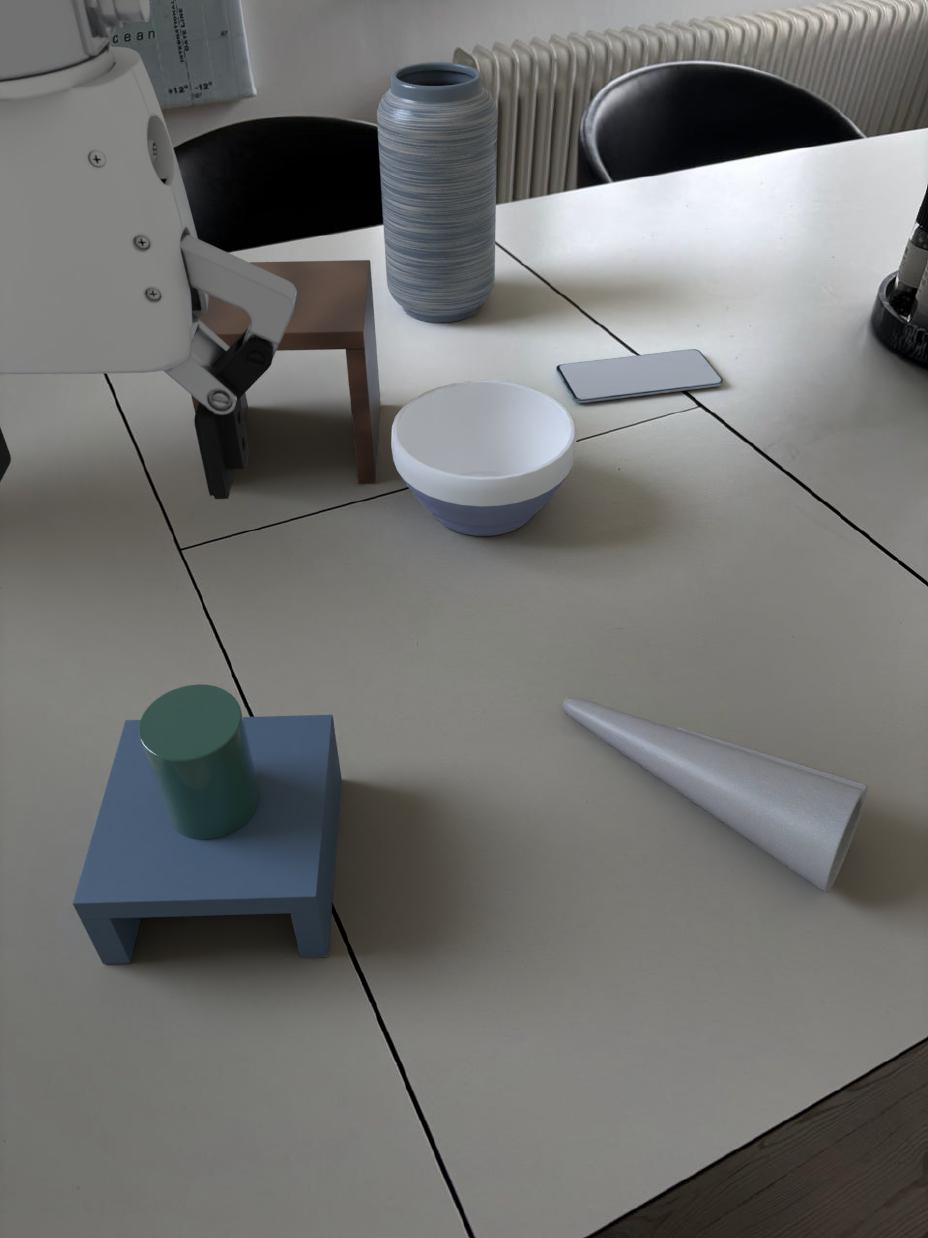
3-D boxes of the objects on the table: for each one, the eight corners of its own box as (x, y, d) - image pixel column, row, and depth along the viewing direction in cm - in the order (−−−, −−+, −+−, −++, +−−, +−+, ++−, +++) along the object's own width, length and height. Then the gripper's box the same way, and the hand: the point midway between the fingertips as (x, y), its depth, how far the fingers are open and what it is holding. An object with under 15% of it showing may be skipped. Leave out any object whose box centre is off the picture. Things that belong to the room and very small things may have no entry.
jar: (157, 841, 52) (128, 761, 48) (175, 765, 56) (149, 684, 51) (254, 839, 52) (234, 759, 48) (265, 763, 56) (247, 682, 51)
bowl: (374, 476, 86) (367, 398, 81) (530, 443, 90) (533, 366, 85) (427, 579, 76) (424, 497, 71) (600, 537, 80) (609, 457, 75)
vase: (408, 337, 105) (397, 98, 89) (374, 291, 113) (359, 64, 97) (510, 318, 108) (517, 83, 92) (471, 275, 116) (471, 52, 100)
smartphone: (554, 364, 99) (697, 347, 101) (554, 369, 99) (697, 352, 102) (575, 400, 94) (725, 382, 96) (574, 405, 94) (724, 387, 97)
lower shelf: (102, 964, 53) (71, 903, 49) (148, 784, 62) (125, 719, 58) (328, 957, 54) (316, 896, 50) (341, 778, 62) (332, 714, 58)
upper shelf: (210, 487, 85) (177, 334, 76) (232, 406, 95) (205, 262, 85) (375, 483, 86) (363, 331, 76) (380, 403, 95) (370, 259, 86)
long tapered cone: (519, 714, 61) (838, 840, 52) (571, 661, 65) (873, 768, 56) (519, 784, 64) (819, 915, 55) (568, 729, 68) (853, 841, 59)
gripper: (276, -13, 33) (323, 430, 45) (-254, -14, 33) (-67, 433, 45) (246, 49, 28) (308, 535, 40) (-390, 50, 27) (-137, 539, 39)
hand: (109, 480), depth 42 cm, fingers open, 9 cm apart
